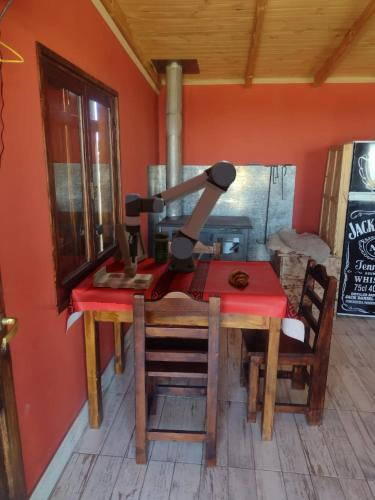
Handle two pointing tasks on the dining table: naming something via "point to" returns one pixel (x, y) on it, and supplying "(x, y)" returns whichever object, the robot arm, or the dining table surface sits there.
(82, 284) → the dining table surface
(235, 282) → the croissant
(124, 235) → the photo frame
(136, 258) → the robot arm
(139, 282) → the trap board
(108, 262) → the dining table surface
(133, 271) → the walnut block
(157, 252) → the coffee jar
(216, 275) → the dining table surface
